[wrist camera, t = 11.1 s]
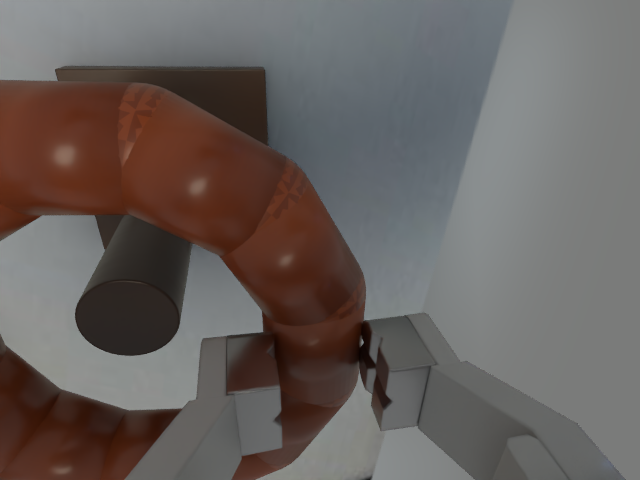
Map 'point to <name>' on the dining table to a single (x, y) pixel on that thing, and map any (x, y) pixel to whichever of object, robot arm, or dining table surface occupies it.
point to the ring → (191, 225)
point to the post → (148, 240)
